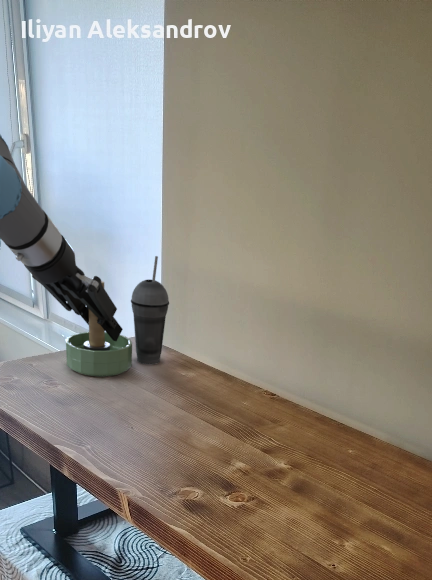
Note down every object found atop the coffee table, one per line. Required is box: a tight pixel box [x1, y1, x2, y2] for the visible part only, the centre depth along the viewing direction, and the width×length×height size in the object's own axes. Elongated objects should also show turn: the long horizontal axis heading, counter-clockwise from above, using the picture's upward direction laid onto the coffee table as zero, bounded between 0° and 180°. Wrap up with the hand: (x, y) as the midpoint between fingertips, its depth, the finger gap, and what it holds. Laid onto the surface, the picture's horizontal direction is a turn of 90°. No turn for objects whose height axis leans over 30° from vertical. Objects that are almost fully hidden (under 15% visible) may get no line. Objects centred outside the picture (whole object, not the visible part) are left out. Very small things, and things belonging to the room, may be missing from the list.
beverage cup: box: [130, 255, 170, 365], centre depth 119 cm, size 7×7×20 cm
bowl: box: [65, 331, 133, 377], centre depth 117 cm, size 12×12×5 cm
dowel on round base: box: [84, 280, 110, 351], centre depth 113 cm, size 5×5×15 cm
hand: (110, 332), depth 117 cm, fingers closed on dowel on round base, 3 cm apart
